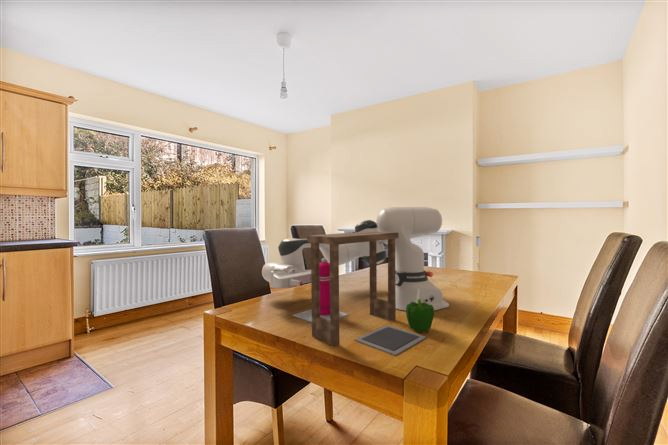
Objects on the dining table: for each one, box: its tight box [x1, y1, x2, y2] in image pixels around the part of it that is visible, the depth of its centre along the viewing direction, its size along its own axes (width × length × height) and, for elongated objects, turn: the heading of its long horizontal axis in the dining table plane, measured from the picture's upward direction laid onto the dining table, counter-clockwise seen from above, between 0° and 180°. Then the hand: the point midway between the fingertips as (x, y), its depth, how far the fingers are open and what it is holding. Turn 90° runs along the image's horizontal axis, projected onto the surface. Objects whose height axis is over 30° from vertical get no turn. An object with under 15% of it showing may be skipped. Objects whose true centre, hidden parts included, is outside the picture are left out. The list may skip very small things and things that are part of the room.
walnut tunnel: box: [306, 231, 399, 347], centre depth 97 cm, size 12×30×30 cm, turn 135°
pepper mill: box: [319, 257, 330, 315], centre depth 111 cm, size 7×7×20 cm
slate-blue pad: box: [292, 308, 349, 324], centre depth 110 cm, size 14×14×1 cm
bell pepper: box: [405, 299, 435, 333], centre depth 95 cm, size 8×8×10 cm
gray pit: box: [353, 324, 427, 357], centre depth 88 cm, size 14×16×1 cm
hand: (310, 281), depth 113 cm, fingers open, 8 cm apart
